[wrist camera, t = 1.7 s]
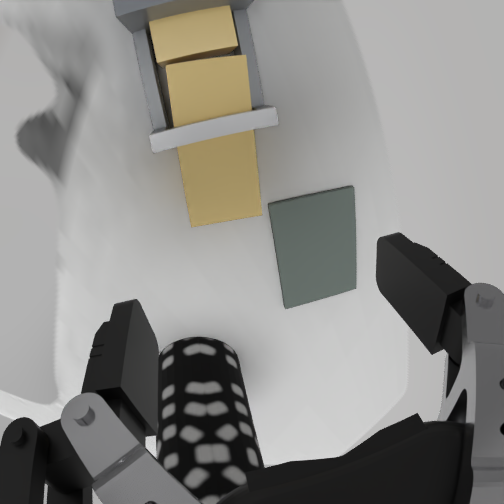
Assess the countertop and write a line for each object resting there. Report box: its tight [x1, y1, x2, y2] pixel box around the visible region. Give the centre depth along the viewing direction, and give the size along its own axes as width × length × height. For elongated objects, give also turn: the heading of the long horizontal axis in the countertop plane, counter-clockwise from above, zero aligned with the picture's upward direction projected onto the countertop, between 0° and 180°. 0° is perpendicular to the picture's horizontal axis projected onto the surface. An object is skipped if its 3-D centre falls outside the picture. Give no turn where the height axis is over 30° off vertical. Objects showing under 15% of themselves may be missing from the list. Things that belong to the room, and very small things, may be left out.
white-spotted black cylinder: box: [156, 337, 265, 504], centre depth 22 cm, size 8×8×20 cm
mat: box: [268, 186, 356, 309], centre depth 27 cm, size 10×7×1 cm
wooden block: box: [166, 55, 262, 227], centre depth 20 cm, size 10×4×4 cm, turn 6°
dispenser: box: [113, 0, 279, 153], centre depth 15 cm, size 14×7×7 cm, turn 10°
